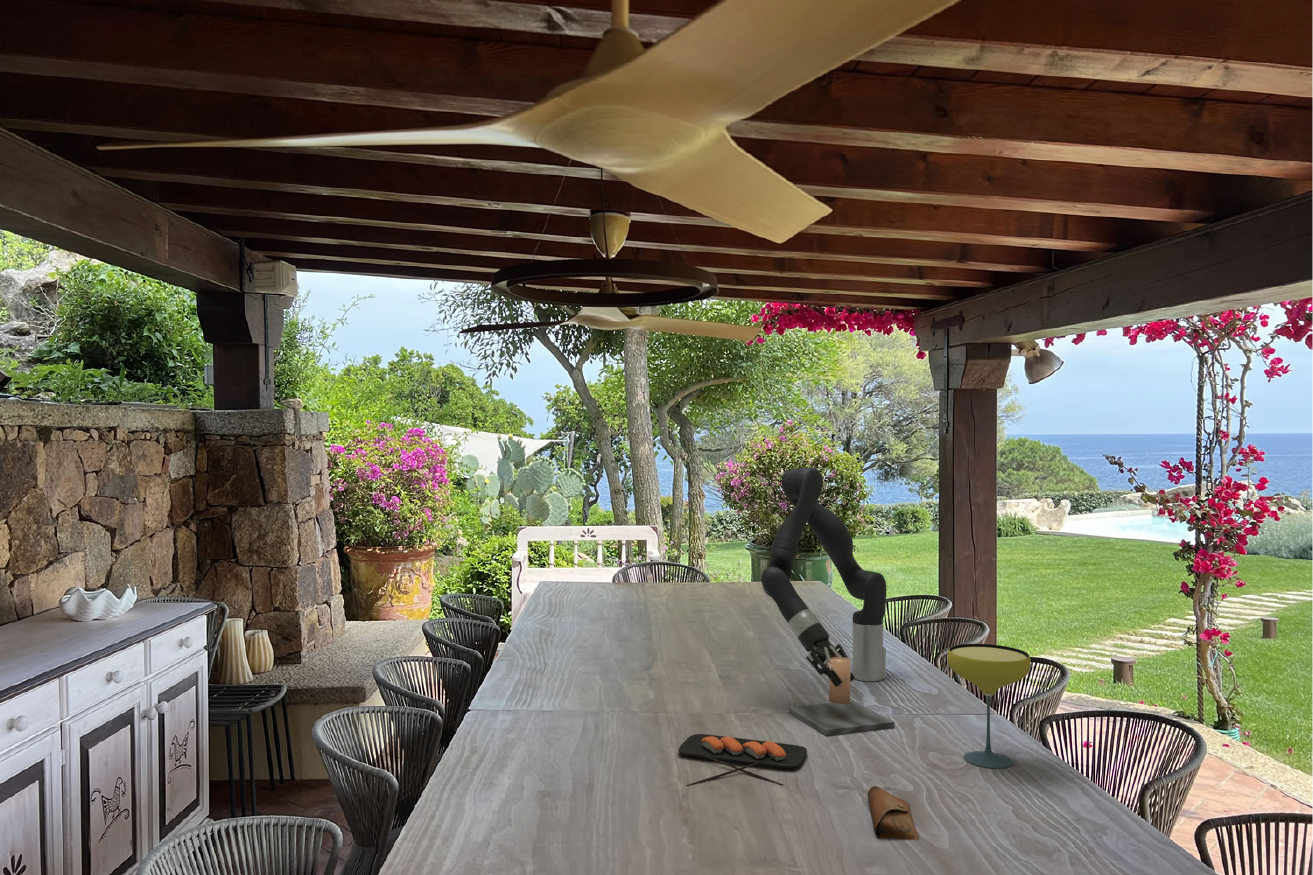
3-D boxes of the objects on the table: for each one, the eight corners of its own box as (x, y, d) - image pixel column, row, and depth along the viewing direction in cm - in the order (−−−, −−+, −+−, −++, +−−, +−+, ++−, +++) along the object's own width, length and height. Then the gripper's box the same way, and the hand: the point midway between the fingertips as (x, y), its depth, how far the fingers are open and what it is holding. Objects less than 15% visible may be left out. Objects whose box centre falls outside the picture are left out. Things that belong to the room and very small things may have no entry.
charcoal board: (852, 705, 249) (852, 700, 249) (894, 727, 230) (894, 721, 230) (788, 712, 243) (788, 707, 243) (826, 736, 224) (826, 730, 224)
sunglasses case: (922, 840, 165) (903, 808, 166) (889, 857, 166) (870, 825, 167) (909, 802, 183) (892, 772, 184) (879, 817, 184) (862, 788, 184)
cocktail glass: (1022, 780, 195) (1022, 665, 195) (938, 764, 204) (938, 654, 204) (1036, 755, 210) (1036, 649, 210) (957, 741, 220) (957, 640, 220)
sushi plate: (809, 754, 213) (809, 738, 213) (784, 802, 184) (784, 784, 184) (692, 740, 222) (692, 724, 222) (651, 783, 194) (651, 766, 194)
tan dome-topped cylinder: (843, 697, 240) (843, 656, 240) (854, 702, 235) (854, 660, 235) (825, 698, 238) (825, 657, 238) (835, 704, 233) (836, 662, 233)
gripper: (801, 625, 237) (839, 679, 228) (831, 618, 247) (869, 669, 239) (784, 642, 240) (821, 696, 232) (815, 634, 251) (852, 685, 242)
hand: (845, 682), depth 235 cm, fingers closed on tan dome-topped cylinder, 5 cm apart
